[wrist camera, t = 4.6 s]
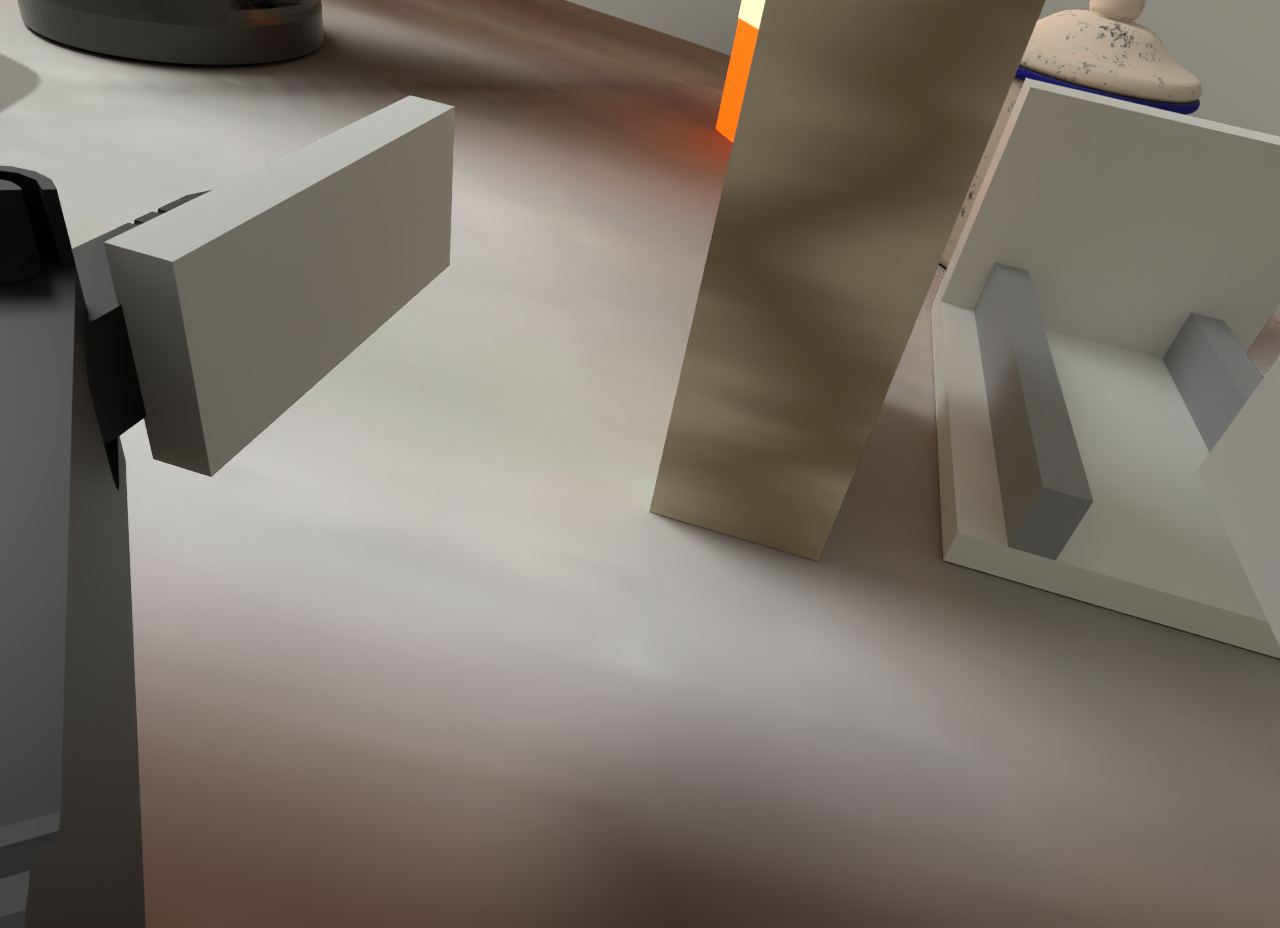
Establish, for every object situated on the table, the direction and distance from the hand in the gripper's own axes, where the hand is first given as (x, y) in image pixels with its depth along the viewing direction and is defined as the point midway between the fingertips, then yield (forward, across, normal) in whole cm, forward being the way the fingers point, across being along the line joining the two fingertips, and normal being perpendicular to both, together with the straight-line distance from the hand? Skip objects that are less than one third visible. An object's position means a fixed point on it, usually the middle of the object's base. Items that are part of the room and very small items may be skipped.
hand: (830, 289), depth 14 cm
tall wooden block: (+8, 0, -9) cm, 12 cm away
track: (+13, +11, -9) cm, 19 cm away
